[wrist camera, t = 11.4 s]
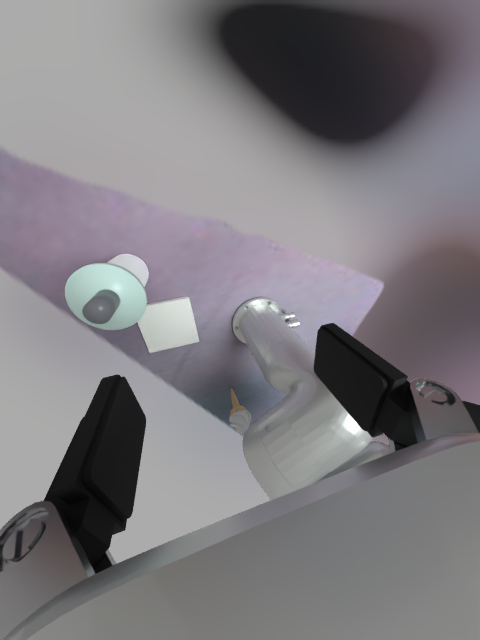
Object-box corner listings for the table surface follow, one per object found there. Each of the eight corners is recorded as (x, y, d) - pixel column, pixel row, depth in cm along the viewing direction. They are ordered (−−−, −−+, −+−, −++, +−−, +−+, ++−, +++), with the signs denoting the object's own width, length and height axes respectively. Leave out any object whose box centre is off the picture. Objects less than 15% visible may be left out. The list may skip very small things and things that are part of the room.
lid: (133, 257, 25) (124, 266, 21) (155, 318, 30) (152, 336, 26) (53, 269, 24) (25, 282, 19) (89, 332, 28) (73, 354, 24)
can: (126, 294, 39) (107, 324, 28) (100, 263, 35) (69, 285, 25) (156, 278, 39) (148, 302, 28) (133, 246, 35) (115, 260, 25)
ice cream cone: (242, 390, 59) (260, 439, 46) (224, 397, 59) (237, 449, 46) (237, 377, 56) (254, 426, 44) (218, 385, 56) (230, 437, 43)
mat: (188, 296, 42) (189, 297, 41) (199, 339, 47) (199, 341, 46) (132, 306, 40) (131, 308, 39) (150, 350, 45) (149, 353, 44)
